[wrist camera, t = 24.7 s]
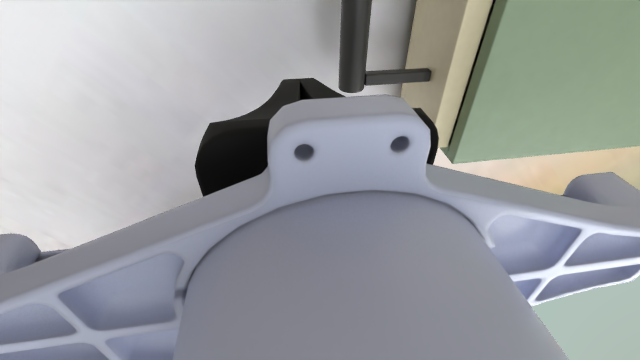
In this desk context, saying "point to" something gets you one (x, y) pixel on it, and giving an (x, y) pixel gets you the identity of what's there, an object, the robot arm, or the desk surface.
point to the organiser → (552, 81)
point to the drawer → (420, 56)
